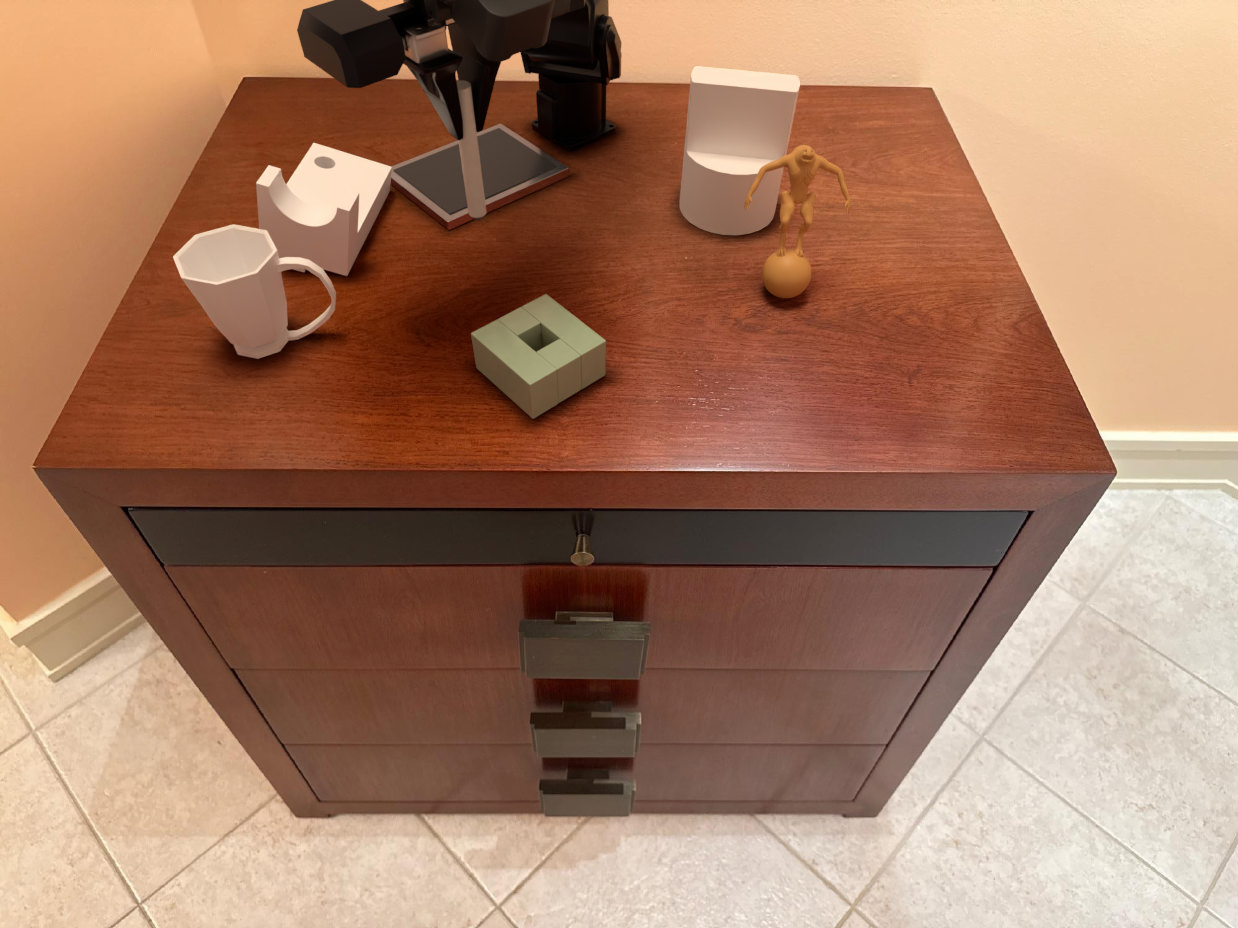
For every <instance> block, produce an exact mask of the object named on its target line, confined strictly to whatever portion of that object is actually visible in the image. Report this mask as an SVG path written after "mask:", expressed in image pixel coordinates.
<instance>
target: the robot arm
mask: <svg viewBox="0 0 1238 928" xmlns="http://www.w3.org/2000/svg"><path fill="white" fill-rule="evenodd" d="M609 7H610V6H609V0H402V2H401V3H398V4H394V5H392V6H388V7H385V8H382V9H379V10H378V9H377V8H375V7H373V6H372V5H370V4H368V3H367V2H365V1H363V0H329V1H326V2H323V3H320V4H316V5H313V6H309V7H306V8H303V9H302V11H301V14H300V18H299V21H298V25H297V28H296V32H297V35H298V38H299V42H300V46H301V49H302V53H303V57H304V58H305V59H307V60H308V61H309V62H311V63H312V64H314V65H315V67H318V68H319V69H320V70H322V71H323V72H325V73H326V74H328V75H329V76H330V77H332V78H333V79H335V80H336V81H337V82H339V83H340V84H341V85H343V86H344V87H346V88H349V89H362V88H365V87H367V86H370V85H373V84H376V83H379V82H382V81H384V80H387V79H390V78H393V77H395V76H398V75H399V73H400V70H401V68H402V66H403V65H404V66H405V67H407V68H408V70H409V71H410V72H411V74H412V75H413V76H414V78H415V79H416V80H417V82H418V84H419V85H420V87H421V89H422V90H423V92H424V93H425V96H426V97H427V98H428V100H429V102H430V103H431V104H432V106H433V109H434V110H435V111H436V114H437V115H438V116H439V118H440V120H441V121H442V123H443V126H445V128H446V130H447V131H448V134H449V135H450V136H451V137H452V138H453V139H455V140H456V141H457V140H461V139H463V119H462V113H461V107H460V100H459V94H458V88H457V81H459V80H464V81H468V82H469V83H470V84H471V91H472V99H473V107H474V115H475V123H476V131H477V133H478V132H480V131H483V130H484V128H485V123H486V120H487V115H488V111H489V107H490V103H491V99H492V95H493V91H494V86H495V83H496V79H497V76H498V73H499V70H500V67H501V64H502V62H504V61H507V60H510V59H511V57H512V56H514V55H517V54H519V53H520V57H521V61H522V62H521V63H522V66H523V70H524V73H525V74H529V75H530V74H536V75H537V77H538V79H537V80H538V89H537V90H536V92H535V97H536V114H537V119H534V120H532V121H531V128H532V129H534V130H536V131H537V132H539V133H540V134H542V135H543V136H545V137H546V138H548V139H549V140H551V141H553V142H554V143H556V144H557V145H559V146H561V147H563V148H564V149H565V150H568V151H573V150H576V149H578V148H581V147H583V146H585V145H587V144H590V143H592V142H594V141H597V140H599V139H602V138H604V137H607V136H608V135H611V134H613V133H615V132H617V125H616V124H614V123H613V122H611V121H609V120H608V119H607V86H609V83H610V82H611V81H614V80H617V79H620V78H621V76H622V56H623V55H622V40H621V37H620V34H619V32H618V30H617V27H616V25H615V22H614V19H613V18H612V15H611V16H610V14H609V13H610V12H609ZM447 30H448V36H449V39H450V45H451V49H450V48H449V45H448V38H447V37H448V36H447ZM456 75H457V76H456ZM457 79H458V80H457Z"/></svg>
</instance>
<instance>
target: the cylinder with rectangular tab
mask: <svg viewBox="0 0 1238 928" xmlns="http://www.w3.org/2000/svg"><path fill="white" fill-rule="evenodd" d="M689 82H690V83H689V93H688V102H687V103H688V104H687V112H686V113H687V115H686V126H685V137H684V148H683V159H682V169H681V178H680V179H681V180H680V189H679V190H680V191H679V201H678V203H679V211H680V213H681V215H682V217H683V218H684V219H685V220H686V221H688V222H689V224H691V225H693V226H694V227H696V228H698V229H700V230H702V231H705V232H709V233H712V234H716V235H722V236H742V235H748V234H749V235H750V234H752V233H757V232H759V231H760V230H762V229H765V228H766V227H768V226H769V225H770V224H771V222H772V221H773V220H774V217H775V214H776V209H777V204H778V200H779V199H778V198H779V194H780V189H781V184H782V179H783V174H784V169H785V167H782V168H779V169H775V170H772V171H768V172H765V174H764V176H763V178H762V180H761V181H760V184H759V186H758V188H757V190H756V191H755V192H754V194H753V195H752V196H751V198H752V201H753V204H752V203H751V202H750V205H749V210H748V204H747V208H746V210H745V208H744V203H745V200H746V197H747V195H748V193H749V191H750V189H751V186H752V185H753V183H754V181H755V179H756V177H757V175H758V172H759V170H760V168H761V167H763V166H764V165H766V164H768V163H770V162H773V161H776V160H778V159H780V158H781V157H783V156H785V155H788V148H789V144H790V139H791V133H792V129H793V123H794V118H795V114H796V108H797V103H798V98H799V93H800V88H801V81H800V78H799V76H798V75H797V74H788V73H776V72H768V71H767V72H766V71H755V70H745V69H735V68H723V67H712V66H704V65H703V66H702V65H696V66H694V68H693V69H692V71H691V73H690V81H689Z"/></svg>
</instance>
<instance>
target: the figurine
mask: <svg viewBox="0 0 1238 928" xmlns="http://www.w3.org/2000/svg"><path fill="white" fill-rule="evenodd" d="M782 167H784V168H787V173H788V177H789V179H788V181H789V184H790V187H789V188H790V191H788V190H783V191H782V192H781V194H780V209H779V220H780V224H779V226H778V230H779V231H780V234H779V242H778V243H779V244H778V250H777V251H774V252H773V253H772V254H770V255H769V256H768V257H767V258H766V260H765V262H764V263H763V266H762V271H761V278H762V283H763V285H764V287H765V289H766V290H767V292H768V293H770V294H771V295H773V296H774V297H777V298H780V299H791V298H795V297H797V296H799V295H800V294H802V293H803V292H804V291H806V289H807V287H809V284H810V282H811V278H812V266H811V263H810V260H809V259H808V257H807V256H806V255H805V253H804V250H803V245H804V234H805V233H806V232H808V230H809V229H810V228H811V227H812V225H813V220H814V206H815V205H814V204H815V201H816V199H817V194H816V193H815V192H814V191H811V192H809V193H808V191H809V187H810V186H811V184H812V182H813V181H814V179H815V177H816V176H817V174H818V170H819V169H822V170H824V171H826V172H829V173H831V174H833V175H836V176H837V182H838V183H839V187H840V192H841V193H842V196H843V197H844V199H845V204H844V209H846V214H848V215H849V214H850V212H851V197H850V193H849V189H848V187H847V184H846V181H845V174H844V172H843V170H842V169H841V168H840V167H839V166H837V165H836V164H834V163H832V162H830V161H828V160H827V159H826V158H825V157H824V156H822V155H818V154H817V153H816V152H815V150H814V149H813V148H812V147H811V146H810V145H807V144H800V145H798V146H796V147H794V149H792V151H791V152H790V153H789V154H788V153H787V154H786V155H785V156H783V157H781V158H780V159H778V160H776V161H773V162H770V163H768V164H766V165H764V166H763V167H761V168H760V170H759V172H758V175H757V177H756V179H755V181H754V183H753V185H752V186H751V189H750V191H749V193H748V195H747V197H746V200H745V203H744V208H745V210H746V208H747V204H748V210H749V205H750V202H751V203H752V204H753V201H752V198H751V196H752V195H753V194H754V192H755V191H756V190H757V188H758V186H759V184H760V181H761V180H762V178H763V176H764V174H765V172H768V171H772V170H775V169H779V168H782ZM800 204H801V205H800ZM795 205H797V206H798V205H800V209H799V215H800V217H801V219H802V220H803V223H801V224H800V225H799V227H798V232H797V237H796V245H795V249H794V248H787V247H786V246H787V244H786V243H787V242H786V240H787V231H788V229H789V223H790V221H791V218H792V217H794V214H795V210H796V208H795Z"/></svg>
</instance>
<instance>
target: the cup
mask: <svg viewBox="0 0 1238 928" xmlns="http://www.w3.org/2000/svg"><path fill="white" fill-rule="evenodd" d="M172 258H173V261H174V263H175V266H176V268H177V271H178V273H179V274H178V275H179V276H180V278H181V280H182V281H183V282H184V284H185V286H186V287H187V288H188V290H189V291H190V293H191V294H192V295H193V297H194V298H195V299H196V301H197V302H198V303H199V305H200V306H201V308H202V309H203V311H204V313H205V314H206V315H207V317H208V318H209V320H210V321H211V322H212V324H213V325H214V326H215V328H216V329H217V330H218V331H219V333H221V334H222V335H223V336H224V337H225V339H226V340H227V341H228V342H229V343H230V344H232V345H233V348H234V349H235V352H236V354H237V355H238V356H241V357H247V358H252V359H257V360H259V359H261V358H264V357H267V356H271V355H274V354H276V353H279V352H281V351H282V349H283V348H284V347H285V346H286V344H287V343H288V342H289V341H296V340H300V339H302V338H305V337H306V336H308V335H310V334H312V333H313V332H315V331H316V330H317V329H319V328H320V327H321V326H323V325H324V324H325V323H326V322H328V321H329V320H330V318H331V316H332V315H333V314H334V312H335V311H336V305H337V304H336V303H337V291H336V289H335V286H334V284H333V282H332V280H331V279H330V277H329V276H328V274H327V273H326V270H324V269H322V268H321V267H319V266H318V265H316V264H315V263H313V262H312V261H310V260H308V259H304V258H300V257H284V258H279V257H278V251H277V249H276V247H275V245H274V243H273V241H272V239H271V237H270V235H269V234H268V232H267V230H262V229H259V228H256V227H251V226H245V225H240V224H234V223H233V224H229V225H225V226H221V227H219V228H214V229H211V230H207V231H204V232H200V233H196V234H194V235H193V236H192V237H191V238H190V239H189V240H188V241H187V242H186V243H185V244H184V245H183V246H182V247H181V248H180V249H179V250H178V251H177V252H176V253H175V254H174V255H173V256H172ZM294 268H303V269H306V271H308V272H310V273H311V274H313V275H314V276H315V277H317V278H319V280H320V282H322V284H323V285H324V287H325V288H326V290H327V292H328V295H329V297H330V299H331V301H330V302H331V303H330V305H329V306H328V307H327V309H325V311H324V312H323V313H321V314H320V315H319V316H318V317H317V318H315V319H313V320H312V321H311V322H310V323H309V324H307V325H305V326H303V327H300V328H299V329H295V330H288V325H289V324H288V323H289V321H288V301H287V297H286V290H285V286H284V281H283V275H282V272H284V271H289V270H294Z"/></svg>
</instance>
